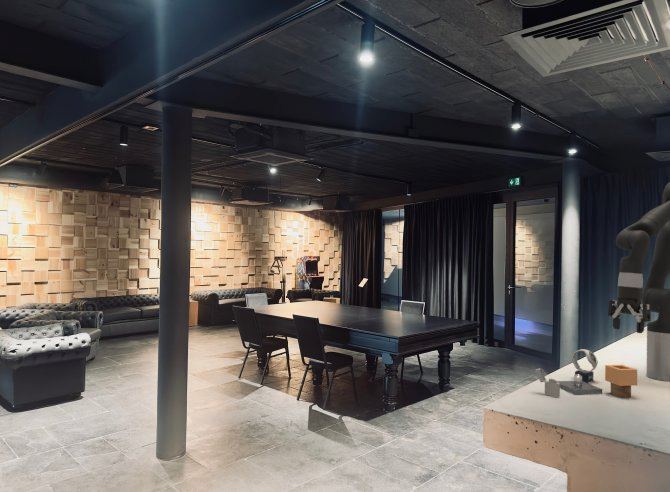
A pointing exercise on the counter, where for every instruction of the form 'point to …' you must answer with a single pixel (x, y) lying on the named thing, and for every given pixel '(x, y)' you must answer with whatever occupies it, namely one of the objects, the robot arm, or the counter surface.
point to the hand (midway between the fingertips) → (627, 330)
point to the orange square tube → (621, 375)
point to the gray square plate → (579, 386)
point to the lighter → (549, 385)
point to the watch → (586, 375)
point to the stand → (621, 391)
